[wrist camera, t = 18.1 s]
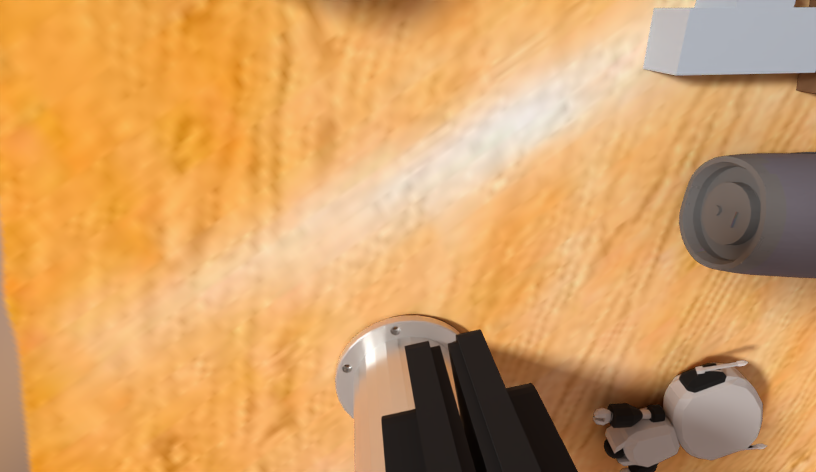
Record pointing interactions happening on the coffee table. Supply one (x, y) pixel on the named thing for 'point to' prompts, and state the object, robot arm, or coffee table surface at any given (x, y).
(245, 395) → the coffee table surface
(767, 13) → the tee block
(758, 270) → the bluetooth speaker
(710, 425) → the robot toy
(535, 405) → the robot arm
